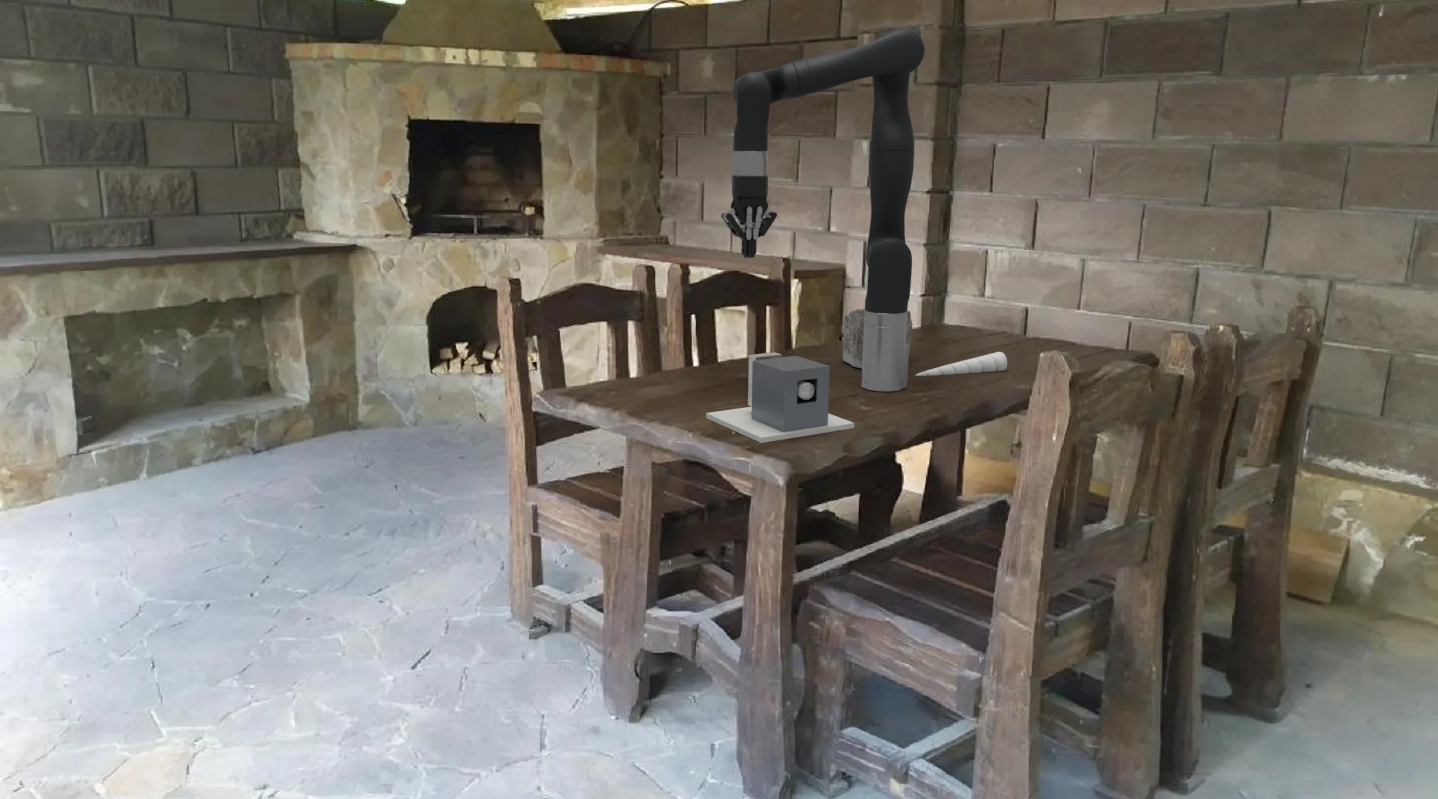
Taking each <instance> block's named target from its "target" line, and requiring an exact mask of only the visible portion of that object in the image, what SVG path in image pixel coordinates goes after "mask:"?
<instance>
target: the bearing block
mask: <svg viewBox="0 0 1438 799" xmlns="http://www.w3.org/2000/svg"><path fill="white" fill-rule="evenodd" d="M830 370H831V366H830V365H828V364H824V363H821V362H818V361H814V360H811V359H809V358H805V357H802V356H797V355H792V356H782V357H781V358H772V359H763V360H755V361H752V406H751V407H752V419H753V420H755V421H758V422H760V423H763V424H765V425H767V426H770V427H772V428H774V429H777V430H779V431H781V432H789V431H796V430H802V429H809V428H815V427H821V426H828V413H829V401H830V400H829V399H830V398H829V397H830V376H831V375H830V374H831V371H830ZM800 380H803V381H806V382H809V383H811V384H812V385H813V386H814V394H813V396H812V397H811V398H810V399H808V400H805V399H802V398H799V397H797V383H798V381H800Z"/></svg>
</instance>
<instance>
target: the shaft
mask: <svg viewBox="0 0 1438 799" xmlns="http://www.w3.org/2000/svg"><path fill="white" fill-rule="evenodd" d="M781 357H783V355H782V353H778V352H775V351H774V352H763V353H757V354H749V355H748V382H747V383H748V388H747V389H748V392H747V394H748V395H747V405H748V407H752V361H755V360H763V359H772V358H781ZM813 394H814V386H813V385H812V384H811V383H809V382H806V381H803V380H800V381H798V383H797V397H799V398H802V399H805V400H808V399H810V398H811V397H812V396H813Z"/></svg>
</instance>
